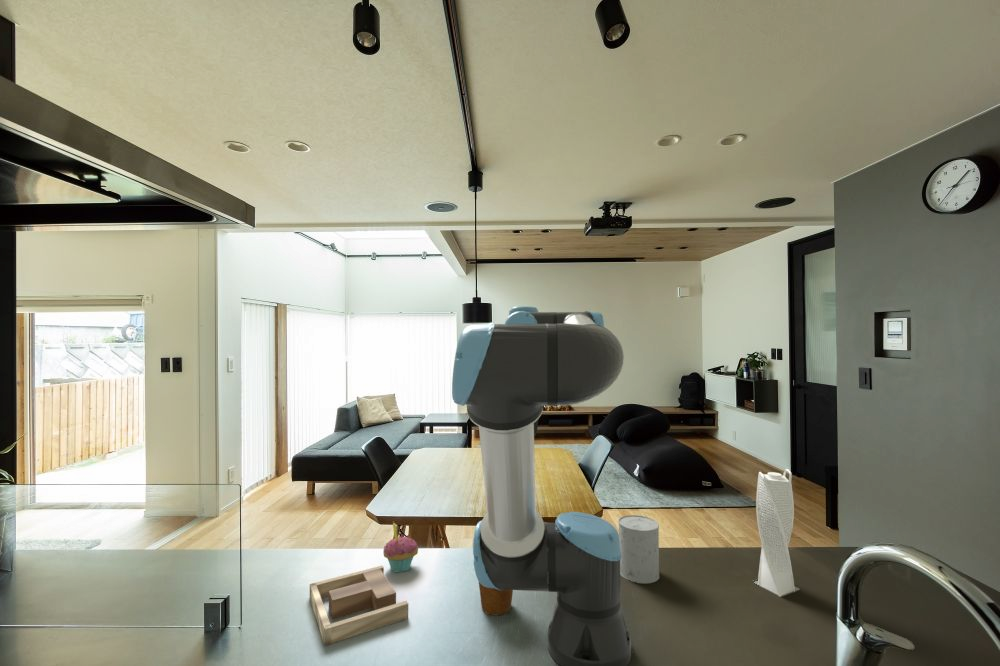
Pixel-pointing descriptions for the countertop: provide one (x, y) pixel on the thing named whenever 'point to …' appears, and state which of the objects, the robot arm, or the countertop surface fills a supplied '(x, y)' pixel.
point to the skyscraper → (775, 532)
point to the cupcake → (400, 552)
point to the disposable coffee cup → (495, 600)
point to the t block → (362, 595)
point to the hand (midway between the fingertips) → (524, 462)
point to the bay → (353, 624)
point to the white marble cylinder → (639, 548)
